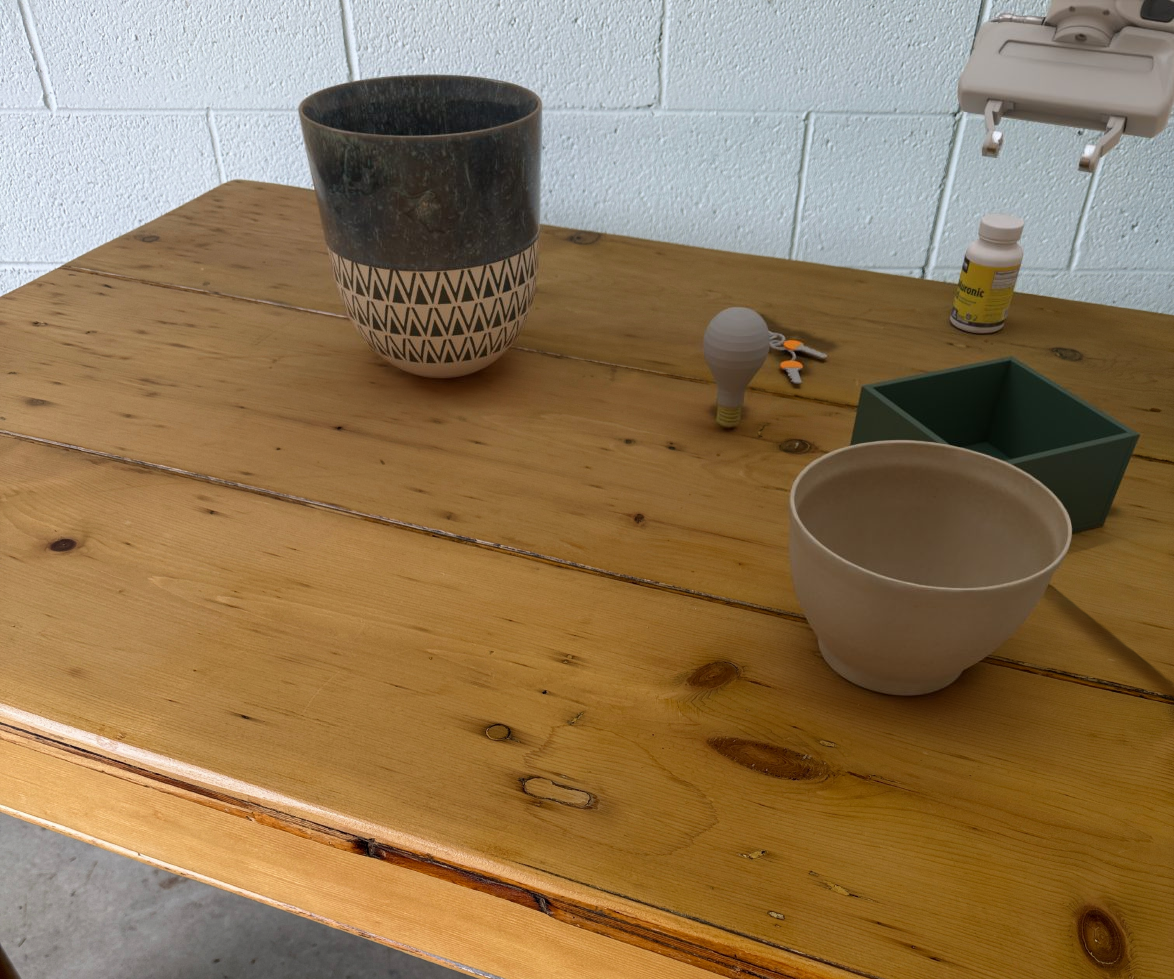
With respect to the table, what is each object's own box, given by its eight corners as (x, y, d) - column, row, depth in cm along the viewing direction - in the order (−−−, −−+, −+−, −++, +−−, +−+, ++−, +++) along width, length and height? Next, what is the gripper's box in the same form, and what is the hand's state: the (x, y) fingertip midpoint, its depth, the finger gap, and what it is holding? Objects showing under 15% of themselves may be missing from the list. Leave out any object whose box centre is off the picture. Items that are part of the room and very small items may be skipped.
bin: (986, 442, 90) (1011, 355, 84) (1103, 526, 80) (1140, 434, 75) (843, 474, 86) (861, 385, 80) (950, 565, 76) (977, 471, 71)
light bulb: (763, 416, 93) (778, 300, 86) (753, 445, 89) (768, 326, 82) (702, 408, 94) (712, 292, 87) (690, 437, 90) (700, 318, 83)
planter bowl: (717, 651, 69) (734, 504, 62) (860, 555, 77) (891, 415, 70) (927, 775, 61) (977, 624, 54) (1062, 654, 69) (1123, 507, 62)
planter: (303, 393, 95) (250, 122, 80) (398, 313, 108) (367, 66, 93) (502, 427, 91) (486, 147, 76) (576, 339, 104) (575, 84, 89)
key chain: (702, 341, 103) (703, 332, 103) (757, 324, 107) (758, 315, 106) (793, 388, 96) (794, 379, 96) (849, 368, 99) (851, 359, 99)
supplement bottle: (938, 317, 108) (963, 214, 101) (984, 311, 110) (1011, 208, 103) (967, 337, 105) (994, 232, 98) (1014, 331, 106) (1044, 226, 99)
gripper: (986, -12, 103) (932, 125, 104) (1208, 9, 96) (1148, 157, 97) (986, 34, 109) (934, 164, 110) (1195, 58, 102) (1139, 196, 103)
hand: (1036, 161), depth 104 cm, fingers open, 8 cm apart
